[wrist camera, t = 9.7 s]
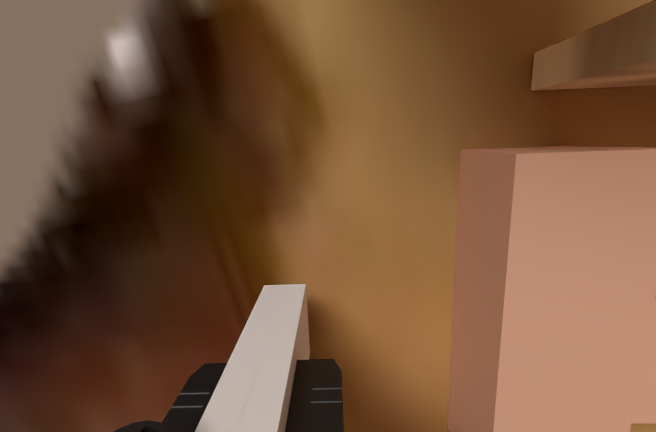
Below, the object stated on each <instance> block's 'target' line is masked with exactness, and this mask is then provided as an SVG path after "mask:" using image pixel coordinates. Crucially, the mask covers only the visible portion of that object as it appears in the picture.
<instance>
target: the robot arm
mask: <svg viewBox="0 0 656 432" xmlns="http://www.w3.org/2000/svg"><path fill="white" fill-rule="evenodd" d="M309 357H310V342H309V326H308V309H307V293H306V284H291V285H264V287H263V289H262V291H261V294H260V296H259V298H258V300H257V302H256V304H255V306H254V308H253V310H252V313H251V315H250V317H249V319H248V321H247V323H246V325H245V327H244V329H243V331H242V334H241V336H240V338H239V340H238V342H237V344H236V346H235V348H234V350H233V353H232V355H231V357H230V359H229V361H228V363H211V364H204V365H203V366H202V367H201V368H199V369H198V370H197V371H196V372H195V373H194V374H192V375H191V376H190V377H189V379H188V381H187V382H186V384H185V386H184V387H183V389H182V391H181V394H180V395H179V396H178V397H177V399H176V400H175V402H174V404H173V407H172V409H170V410H169V412H168V414H167V415H166V417H165V419H164V420H163V422H162V423H160V422H154V421H142V422H136V423H132V424H129V425H127V426H125V427H122V428H120V429H117V430H115V431H114V432H344V425H343V399H342V374H341V370H340V368H339V367H338V365H337V364H336V362H335V361H334V359H310V360H309Z"/></svg>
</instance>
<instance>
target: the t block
mask: <svg viewBox="0 0 656 432" xmlns="http://www.w3.org/2000/svg"><path fill="white" fill-rule="evenodd" d="M649 423H656V147H617V146H577V145H571V146H542V147H514V148H485V149H460V170H459V191H458V213H457V234H456V255H455V276H454V297H453V318H452V339H451V360H450V381H449V402H448V423H447V428H448V431H449V432H630V428H631V424H649Z"/></svg>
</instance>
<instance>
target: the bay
mask: <svg viewBox="0 0 656 432" xmlns="http://www.w3.org/2000/svg"><path fill="white" fill-rule="evenodd" d="M632 86H656V0H654V1H651V2H649V3H647V4H645V5H642V6H640V7H638V8H636V9H633V10H631V11H629V12H627V13H624V14H622V15H620V16H617V17H615V18H613V19H611V20H608V21H606V22H604V23H602V24H599V25H597V26H595V27H593V28H590V29H588V30H586V31H584V32H581V33H579V34H577V35H575V36H572V37H570V38H568V39H566V40H563V41H561V42H559V43H557V44H554V45H552V46H550V47H547V48H545V49H543V50H541V51H538V52H536V53H534V61H533V73H532V84H531V91H534V90H559V89H583V88H607V87H632Z"/></svg>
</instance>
